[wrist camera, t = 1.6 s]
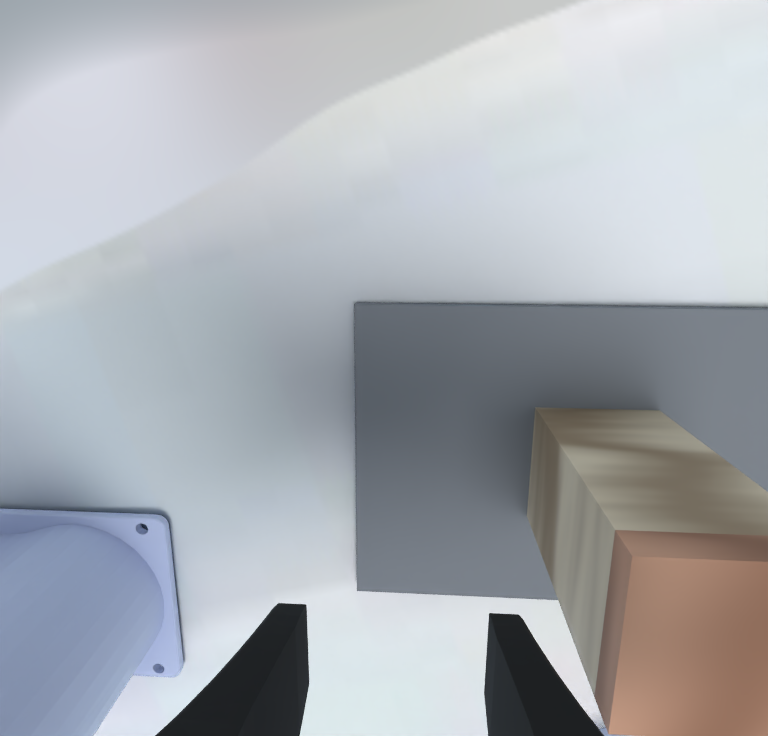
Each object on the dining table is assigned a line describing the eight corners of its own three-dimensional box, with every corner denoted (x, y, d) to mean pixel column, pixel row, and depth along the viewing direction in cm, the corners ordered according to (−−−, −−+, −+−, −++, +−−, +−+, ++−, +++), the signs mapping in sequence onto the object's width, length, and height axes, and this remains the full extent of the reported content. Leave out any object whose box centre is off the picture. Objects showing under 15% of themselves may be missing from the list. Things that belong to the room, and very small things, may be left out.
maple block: (526, 516, 21) (608, 734, 12) (535, 407, 20) (632, 556, 11) (644, 520, 21) (819, 746, 12) (659, 410, 20) (865, 565, 11)
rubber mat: (358, 581, 23) (357, 590, 23) (356, 302, 20) (354, 304, 20) (900, 605, 22) (913, 616, 21) (982, 310, 19) (1000, 313, 18)
